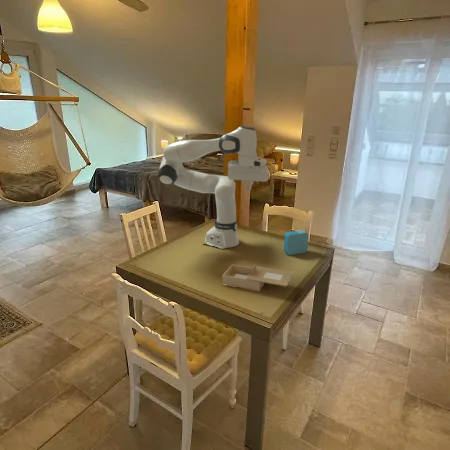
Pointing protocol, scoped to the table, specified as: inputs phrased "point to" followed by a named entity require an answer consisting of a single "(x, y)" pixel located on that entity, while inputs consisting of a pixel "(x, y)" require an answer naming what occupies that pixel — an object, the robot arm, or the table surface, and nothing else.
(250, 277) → the lid
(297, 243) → the data package
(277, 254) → the table surface
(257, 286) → the box
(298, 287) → the table surface
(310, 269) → the table surface
